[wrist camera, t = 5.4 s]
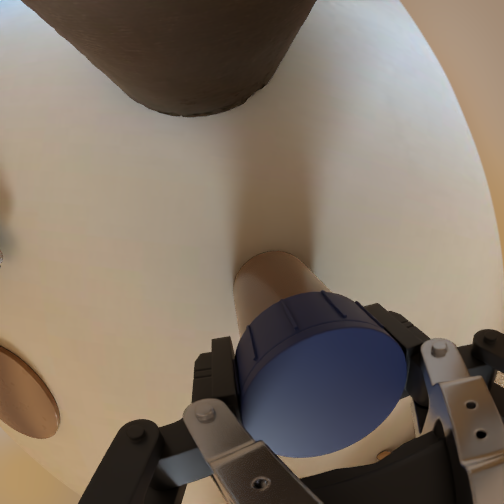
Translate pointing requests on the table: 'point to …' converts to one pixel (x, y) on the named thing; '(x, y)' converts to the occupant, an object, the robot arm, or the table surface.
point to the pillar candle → (180, 46)
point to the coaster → (25, 399)
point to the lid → (316, 374)
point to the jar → (270, 284)
